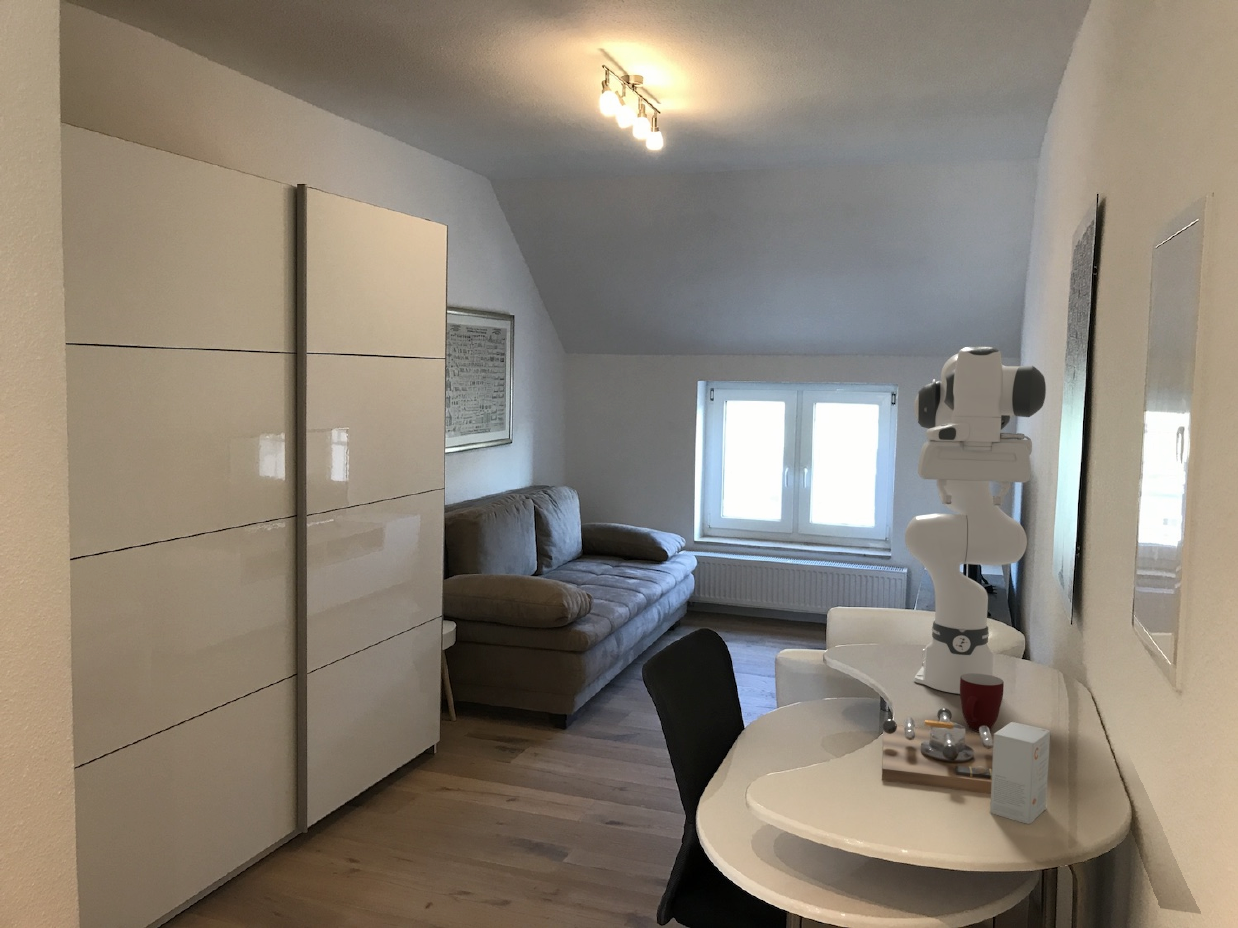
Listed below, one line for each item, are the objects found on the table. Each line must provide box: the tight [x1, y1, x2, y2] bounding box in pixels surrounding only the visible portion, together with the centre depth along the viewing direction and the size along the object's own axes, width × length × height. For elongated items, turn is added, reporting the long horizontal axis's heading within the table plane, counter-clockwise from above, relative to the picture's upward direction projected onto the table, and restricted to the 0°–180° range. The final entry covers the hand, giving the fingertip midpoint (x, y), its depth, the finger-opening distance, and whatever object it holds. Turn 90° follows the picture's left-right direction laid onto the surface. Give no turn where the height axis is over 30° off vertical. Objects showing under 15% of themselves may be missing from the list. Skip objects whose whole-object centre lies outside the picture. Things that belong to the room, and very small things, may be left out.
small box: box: [989, 721, 1051, 825], centre depth 157 cm, size 8×6×13 cm
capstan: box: [881, 707, 993, 763], centre depth 177 cm, size 23×23×5 cm
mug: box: [959, 673, 1005, 733], centre depth 195 cm, size 11×8×10 cm
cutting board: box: [881, 724, 994, 794], centre depth 178 cm, size 24×22×4 cm
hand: (972, 504), depth 189 cm, fingers open, 8 cm apart
